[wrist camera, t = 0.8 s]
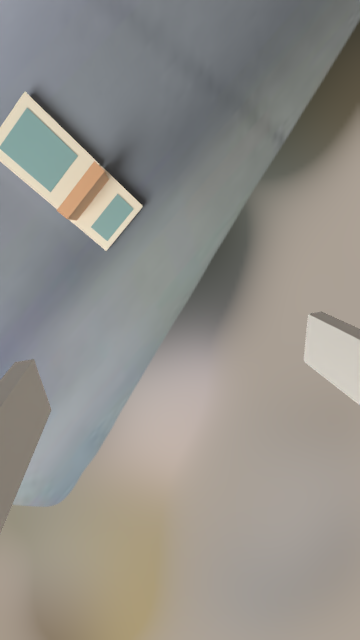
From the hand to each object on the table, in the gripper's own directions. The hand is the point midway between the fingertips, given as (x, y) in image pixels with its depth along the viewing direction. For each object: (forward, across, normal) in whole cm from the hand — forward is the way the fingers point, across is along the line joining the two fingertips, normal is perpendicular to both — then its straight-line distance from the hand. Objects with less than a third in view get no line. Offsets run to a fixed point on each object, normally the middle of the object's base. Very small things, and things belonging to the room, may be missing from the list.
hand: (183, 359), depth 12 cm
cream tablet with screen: (+25, -9, +14) cm, 30 cm away
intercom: (+25, -4, +8) cm, 26 cm away
